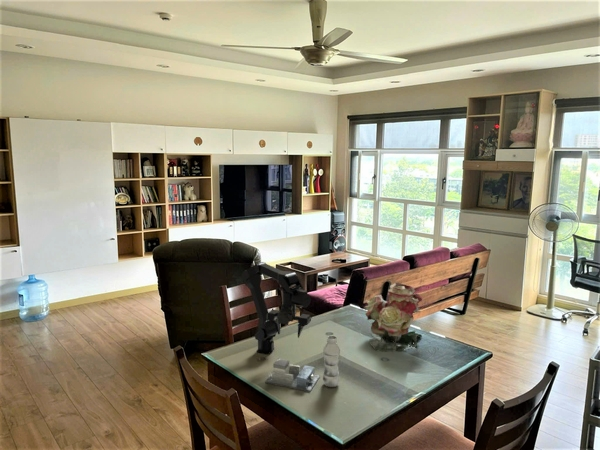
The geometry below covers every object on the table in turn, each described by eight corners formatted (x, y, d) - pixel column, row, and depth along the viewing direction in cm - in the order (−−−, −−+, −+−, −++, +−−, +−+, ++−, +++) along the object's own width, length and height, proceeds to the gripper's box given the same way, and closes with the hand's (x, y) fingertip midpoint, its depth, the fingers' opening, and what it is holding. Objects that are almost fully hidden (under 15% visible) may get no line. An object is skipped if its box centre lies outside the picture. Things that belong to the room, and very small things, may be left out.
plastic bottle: (334, 391, 169) (335, 342, 166) (319, 386, 173) (320, 338, 170) (342, 383, 175) (343, 336, 172) (327, 379, 178) (328, 332, 175)
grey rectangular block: (273, 377, 178) (273, 363, 177) (278, 371, 182) (278, 358, 181) (284, 379, 176) (284, 366, 175) (289, 374, 180) (289, 360, 179)
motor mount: (265, 382, 175) (265, 372, 174) (277, 368, 186) (277, 358, 185) (310, 392, 169) (310, 381, 168) (319, 377, 180) (319, 366, 179)
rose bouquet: (363, 329, 228) (365, 274, 223) (421, 334, 223) (424, 277, 218) (360, 351, 203) (362, 289, 198) (425, 357, 198) (429, 294, 193)
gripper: (261, 304, 184) (261, 339, 187) (302, 310, 178) (302, 346, 180) (272, 296, 194) (272, 330, 197) (311, 302, 188) (311, 336, 191)
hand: (288, 335), depth 191 cm, fingers open, 9 cm apart
